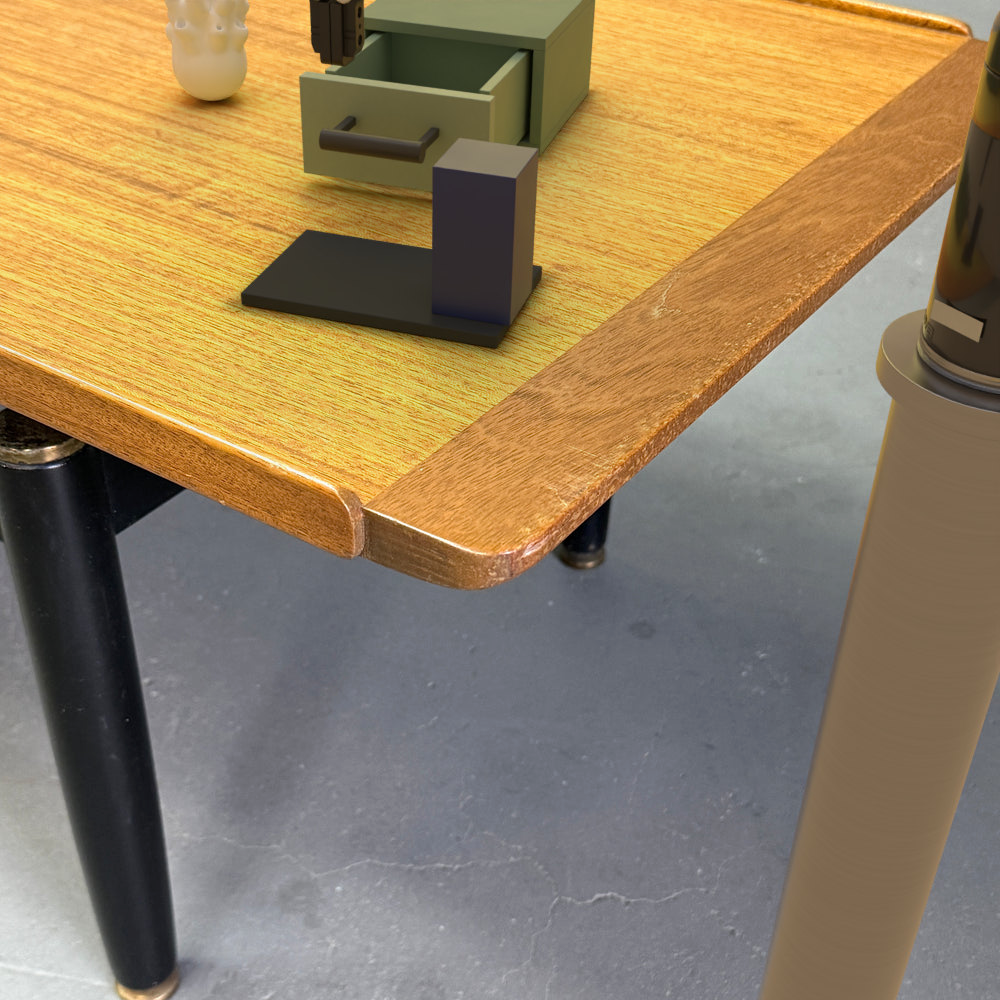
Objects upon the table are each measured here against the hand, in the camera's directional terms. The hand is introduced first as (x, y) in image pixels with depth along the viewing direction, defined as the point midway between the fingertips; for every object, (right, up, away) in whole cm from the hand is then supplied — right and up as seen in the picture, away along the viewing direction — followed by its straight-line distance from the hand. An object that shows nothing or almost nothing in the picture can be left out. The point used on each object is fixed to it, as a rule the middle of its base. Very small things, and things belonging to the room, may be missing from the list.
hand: (338, 61), depth 83 cm
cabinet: (+8, +5, +30) cm, 31 cm away
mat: (+3, -13, +2) cm, 14 cm away
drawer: (+4, -2, +18) cm, 18 cm away
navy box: (+9, -14, 0) cm, 17 cm away
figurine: (-14, +6, +30) cm, 34 cm away
